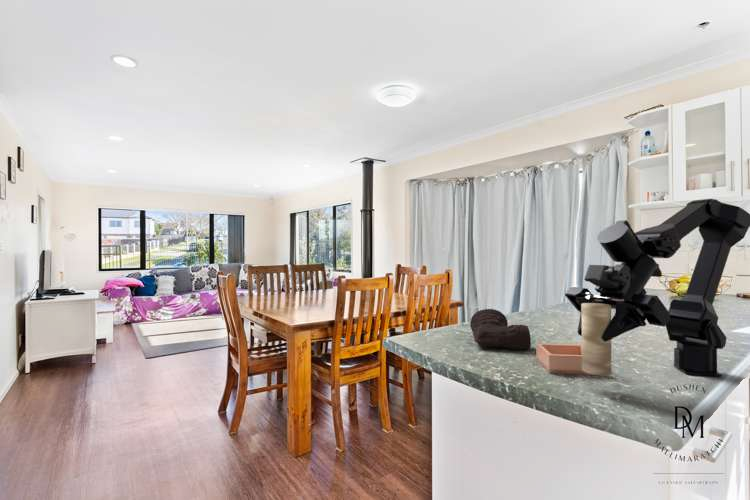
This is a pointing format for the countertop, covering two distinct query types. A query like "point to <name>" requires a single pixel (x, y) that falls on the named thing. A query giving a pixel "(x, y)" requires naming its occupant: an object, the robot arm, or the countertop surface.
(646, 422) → the countertop surface
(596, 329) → the beech dowel
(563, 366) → the box
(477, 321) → the dark brown elbow
